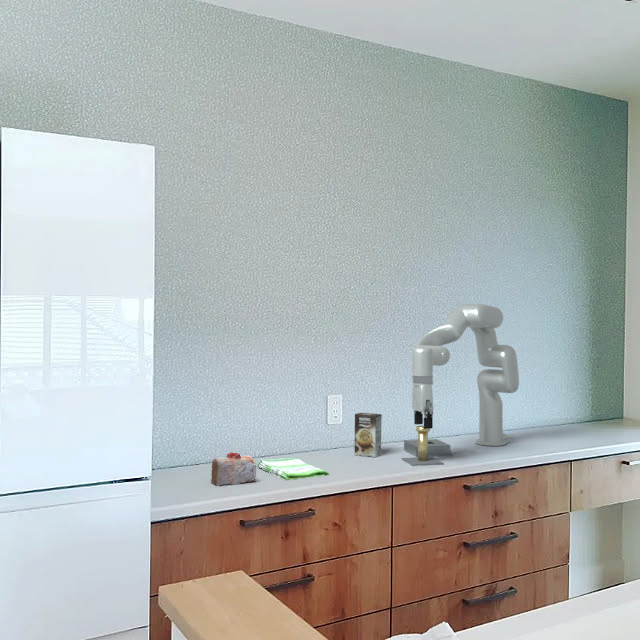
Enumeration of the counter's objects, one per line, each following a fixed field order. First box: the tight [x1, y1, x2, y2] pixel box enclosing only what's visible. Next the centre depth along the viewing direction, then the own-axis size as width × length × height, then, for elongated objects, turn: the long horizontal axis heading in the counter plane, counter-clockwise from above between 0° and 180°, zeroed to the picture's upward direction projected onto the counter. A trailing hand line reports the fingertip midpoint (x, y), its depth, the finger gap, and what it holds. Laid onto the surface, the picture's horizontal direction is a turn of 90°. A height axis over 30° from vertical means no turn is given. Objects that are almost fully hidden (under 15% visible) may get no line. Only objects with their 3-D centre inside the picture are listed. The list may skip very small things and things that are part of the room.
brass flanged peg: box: [415, 425, 431, 461], centre depth 264 cm, size 5×5×12 cm
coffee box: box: [354, 412, 383, 458], centre depth 277 cm, size 9×6×16 cm
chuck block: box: [403, 438, 451, 457], centre depth 282 cm, size 14×14×4 cm
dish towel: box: [257, 457, 330, 481], centre depth 248 cm, size 17×23×4 cm
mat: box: [401, 456, 445, 466], centre depth 264 cm, size 12×12×1 cm
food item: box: [210, 452, 257, 487], centre depth 231 cm, size 14×8×10 cm, turn 119°
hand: (423, 426), depth 265 cm, fingers open, 9 cm apart
